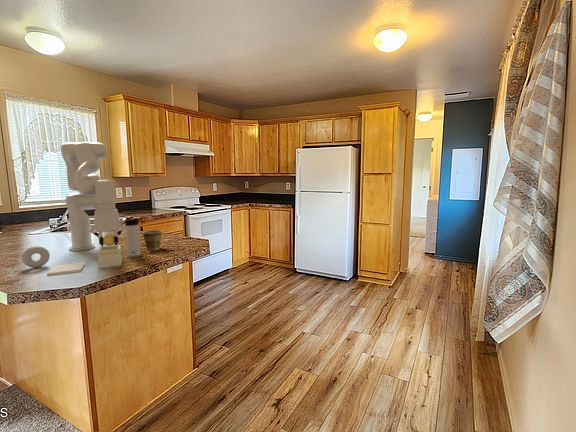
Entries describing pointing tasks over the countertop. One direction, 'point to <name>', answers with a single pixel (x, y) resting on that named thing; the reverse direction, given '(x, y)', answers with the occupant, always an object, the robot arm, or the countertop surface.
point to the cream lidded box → (109, 256)
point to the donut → (33, 250)
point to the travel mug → (132, 238)
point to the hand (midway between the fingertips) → (109, 244)
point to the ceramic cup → (152, 239)
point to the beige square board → (66, 268)
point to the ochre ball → (108, 240)
